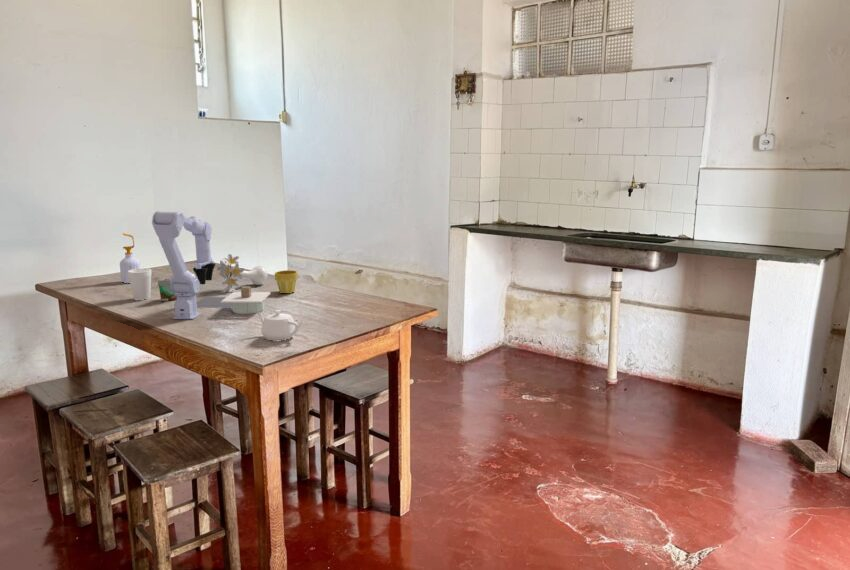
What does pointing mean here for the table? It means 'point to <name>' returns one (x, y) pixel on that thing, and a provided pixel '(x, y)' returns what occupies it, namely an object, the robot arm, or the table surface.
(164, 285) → the food container
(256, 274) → the flower vase
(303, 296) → the table surface
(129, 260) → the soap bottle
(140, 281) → the foam cup
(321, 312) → the table surface
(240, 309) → the bowl
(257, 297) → the cover sheet
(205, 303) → the mat
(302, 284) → the table surface
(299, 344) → the table surface
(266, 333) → the teapot
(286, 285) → the plant pot
